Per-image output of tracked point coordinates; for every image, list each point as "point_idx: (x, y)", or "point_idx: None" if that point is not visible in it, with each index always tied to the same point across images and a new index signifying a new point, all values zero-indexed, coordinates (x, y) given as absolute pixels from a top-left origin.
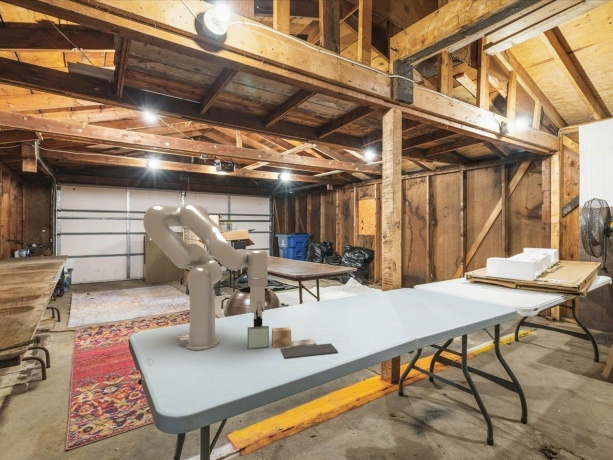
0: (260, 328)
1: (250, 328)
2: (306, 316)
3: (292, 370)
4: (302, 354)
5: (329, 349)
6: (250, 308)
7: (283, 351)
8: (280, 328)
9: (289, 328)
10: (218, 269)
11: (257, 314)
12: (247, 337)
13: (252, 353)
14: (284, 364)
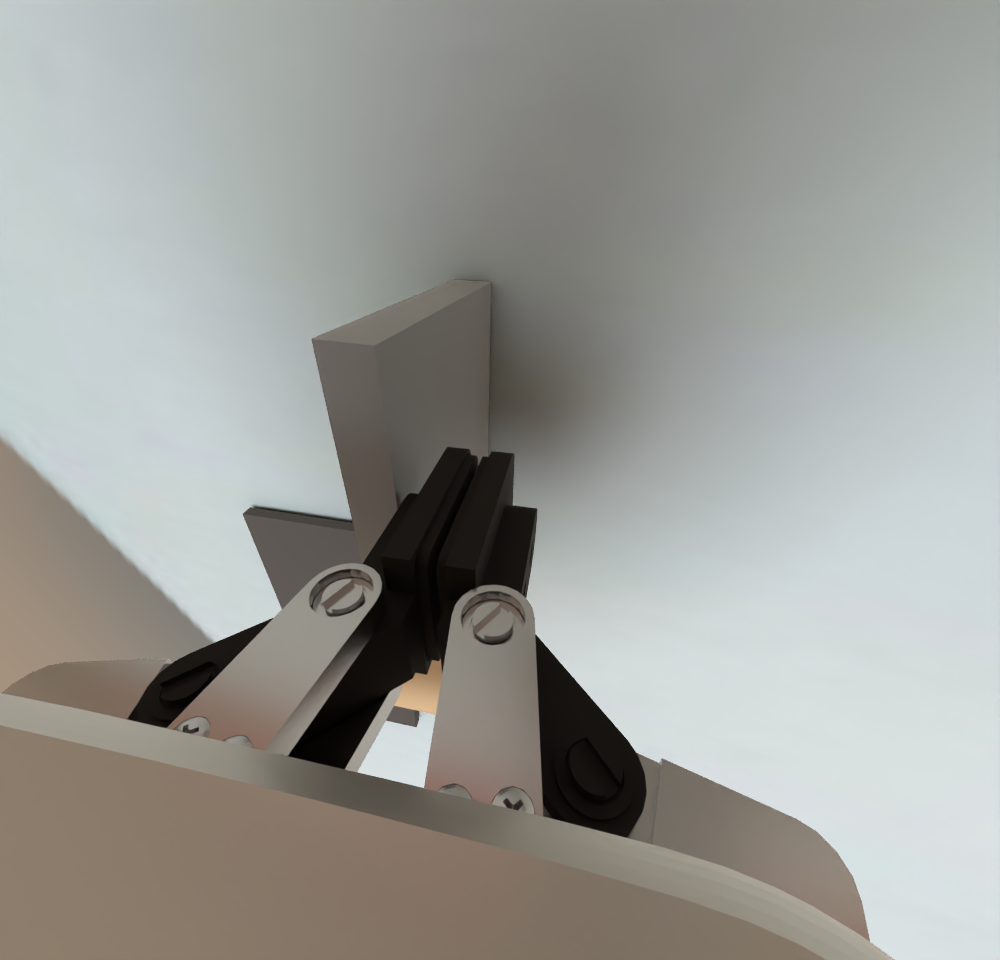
0: (363, 522)
1: (324, 389)
2: (985, 841)
3: (128, 499)
4: (286, 598)
5: None
6: (349, 878)
7: (327, 534)
8: (440, 668)
9: (427, 709)
10: None
11: (108, 712)
12: (443, 303)
13: (354, 315)
14: (188, 485)
